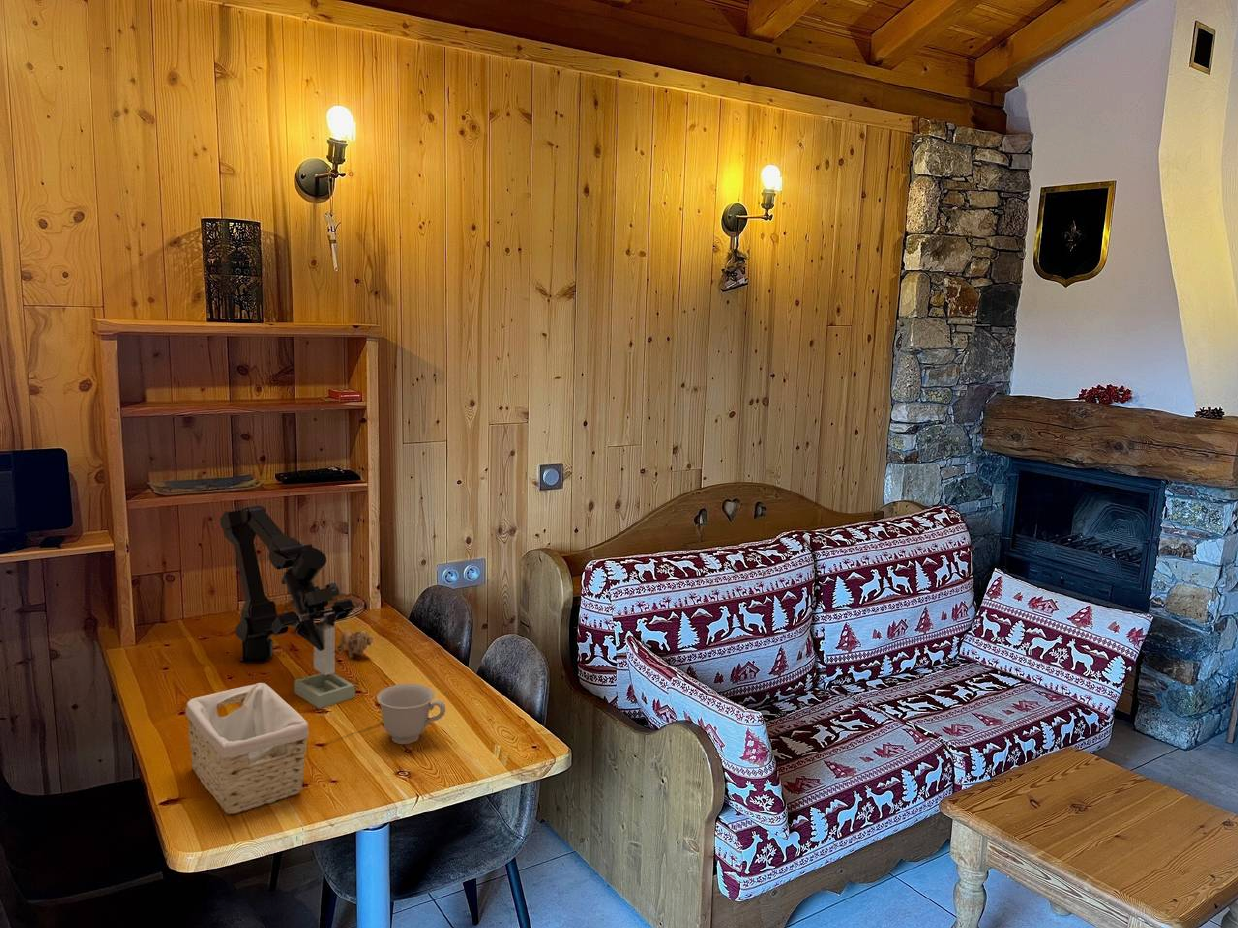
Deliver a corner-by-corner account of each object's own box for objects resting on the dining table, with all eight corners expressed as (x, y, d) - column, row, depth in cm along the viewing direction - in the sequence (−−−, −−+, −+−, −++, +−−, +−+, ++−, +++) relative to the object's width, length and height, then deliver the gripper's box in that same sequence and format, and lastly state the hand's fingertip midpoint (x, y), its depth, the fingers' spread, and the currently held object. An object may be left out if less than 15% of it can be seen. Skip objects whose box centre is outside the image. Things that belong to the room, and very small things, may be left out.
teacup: (432, 757, 190) (433, 712, 188) (366, 746, 193) (367, 702, 191) (454, 731, 202) (455, 689, 200) (391, 721, 204) (392, 680, 203)
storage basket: (184, 767, 181) (182, 697, 178) (266, 744, 191) (265, 678, 189) (224, 823, 163) (222, 747, 160) (312, 795, 174) (312, 723, 171)
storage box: (294, 696, 213) (294, 680, 212) (329, 685, 219) (329, 670, 219) (319, 712, 206) (319, 696, 205) (354, 701, 212) (354, 685, 211)
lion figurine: (375, 664, 235) (375, 631, 233) (356, 669, 231) (356, 635, 229) (346, 647, 245) (346, 615, 243) (327, 651, 241) (328, 619, 239)
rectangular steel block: (313, 668, 212) (313, 623, 210) (323, 665, 214) (323, 621, 212) (325, 674, 209) (325, 629, 207) (334, 672, 210) (334, 627, 208)
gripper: (277, 580, 203) (302, 642, 198) (351, 566, 216) (376, 622, 211) (260, 604, 209) (284, 664, 204) (333, 589, 223) (357, 644, 218)
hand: (327, 648), depth 209 cm, fingers closed on rectangular steel block, 2 cm apart
